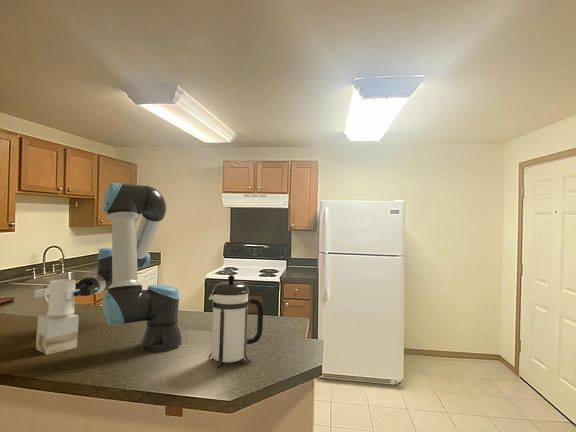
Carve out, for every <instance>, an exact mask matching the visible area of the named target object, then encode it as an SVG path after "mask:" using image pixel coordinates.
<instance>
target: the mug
mask: <svg viewBox="0 0 576 432" xmlns="http://www.w3.org/2000/svg"><path fill="white" fill-rule="evenodd" d="M76 283H77V282H76V280H75V279H70V278H69V279H54V280H51V281H50V282H49V285H48V286H46V287H47V288H46V289H45V293H44V296H43V297H44V300H45V302H46V303H47V304H48V308H47V309H48V310H47V313H46V315H50V316H61V315H68V314H72V313H73V314H75V299H76V297H74V298H71V299H67V300H66V299H65V292H67V291H72V290H75V285H76ZM49 287H50V292H49V296H47V290H48V288H49Z"/></svg>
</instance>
